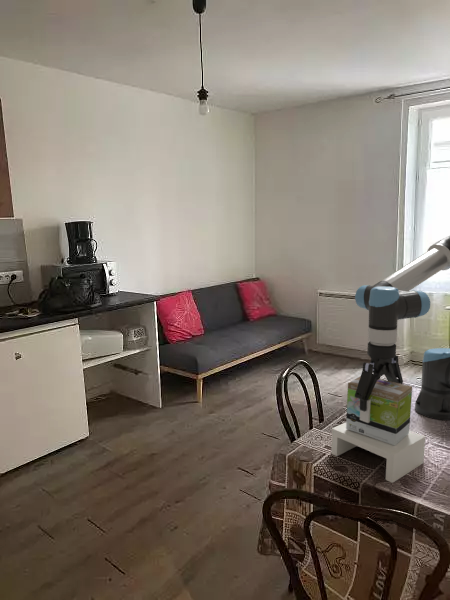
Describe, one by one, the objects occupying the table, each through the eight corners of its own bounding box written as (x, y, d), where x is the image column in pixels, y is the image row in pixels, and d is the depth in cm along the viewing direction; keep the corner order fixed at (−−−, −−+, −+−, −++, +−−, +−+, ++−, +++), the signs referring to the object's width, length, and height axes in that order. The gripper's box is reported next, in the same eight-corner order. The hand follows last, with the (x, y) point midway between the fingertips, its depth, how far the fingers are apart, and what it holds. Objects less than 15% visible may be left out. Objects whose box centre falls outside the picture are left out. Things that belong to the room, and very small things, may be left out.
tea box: (344, 430, 131) (346, 381, 129) (360, 419, 138) (362, 373, 136) (395, 447, 121) (398, 394, 118) (410, 434, 128) (413, 384, 126)
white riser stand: (363, 437, 144) (364, 414, 142) (423, 462, 128) (425, 436, 127) (331, 453, 134) (331, 428, 132) (392, 482, 118) (393, 454, 117)
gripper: (394, 333, 136) (391, 399, 139) (342, 347, 121) (340, 422, 124) (418, 337, 130) (414, 407, 134) (367, 353, 115) (364, 431, 118)
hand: (378, 414), depth 129 cm, fingers open, 13 cm apart
